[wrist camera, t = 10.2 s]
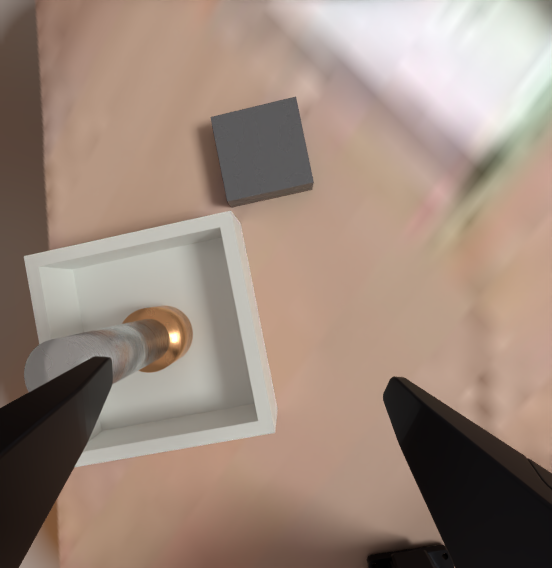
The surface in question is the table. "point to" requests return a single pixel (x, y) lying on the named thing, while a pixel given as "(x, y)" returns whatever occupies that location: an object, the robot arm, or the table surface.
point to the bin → (201, 313)
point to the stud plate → (262, 152)
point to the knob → (116, 346)
